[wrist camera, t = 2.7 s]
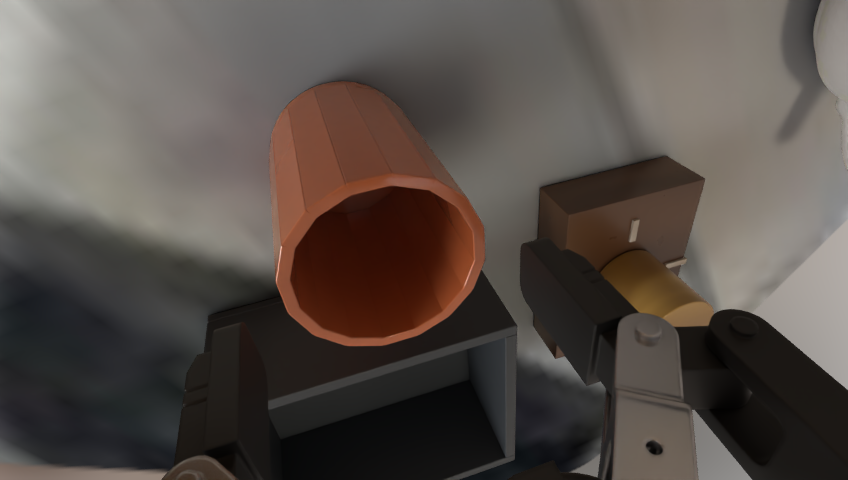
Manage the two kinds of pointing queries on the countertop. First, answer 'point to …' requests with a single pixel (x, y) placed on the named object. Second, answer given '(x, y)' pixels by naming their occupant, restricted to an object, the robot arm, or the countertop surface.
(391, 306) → the cup
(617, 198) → the tap block
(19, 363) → the countertop surface
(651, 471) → the robot arm
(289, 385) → the basin
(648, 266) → the tap knob
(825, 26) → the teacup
